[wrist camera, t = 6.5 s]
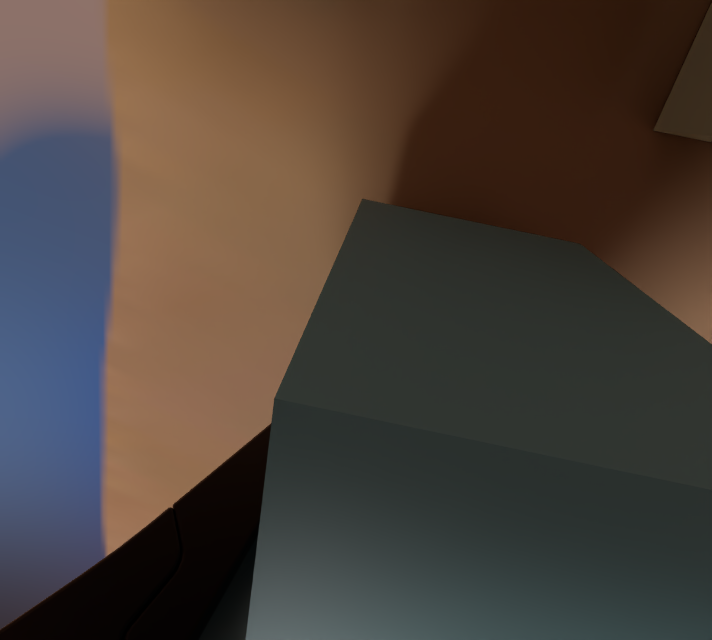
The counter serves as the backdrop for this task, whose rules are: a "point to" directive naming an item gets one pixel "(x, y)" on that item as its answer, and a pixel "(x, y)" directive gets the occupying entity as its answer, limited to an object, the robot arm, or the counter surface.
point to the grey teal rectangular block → (485, 448)
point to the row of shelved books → (692, 91)
